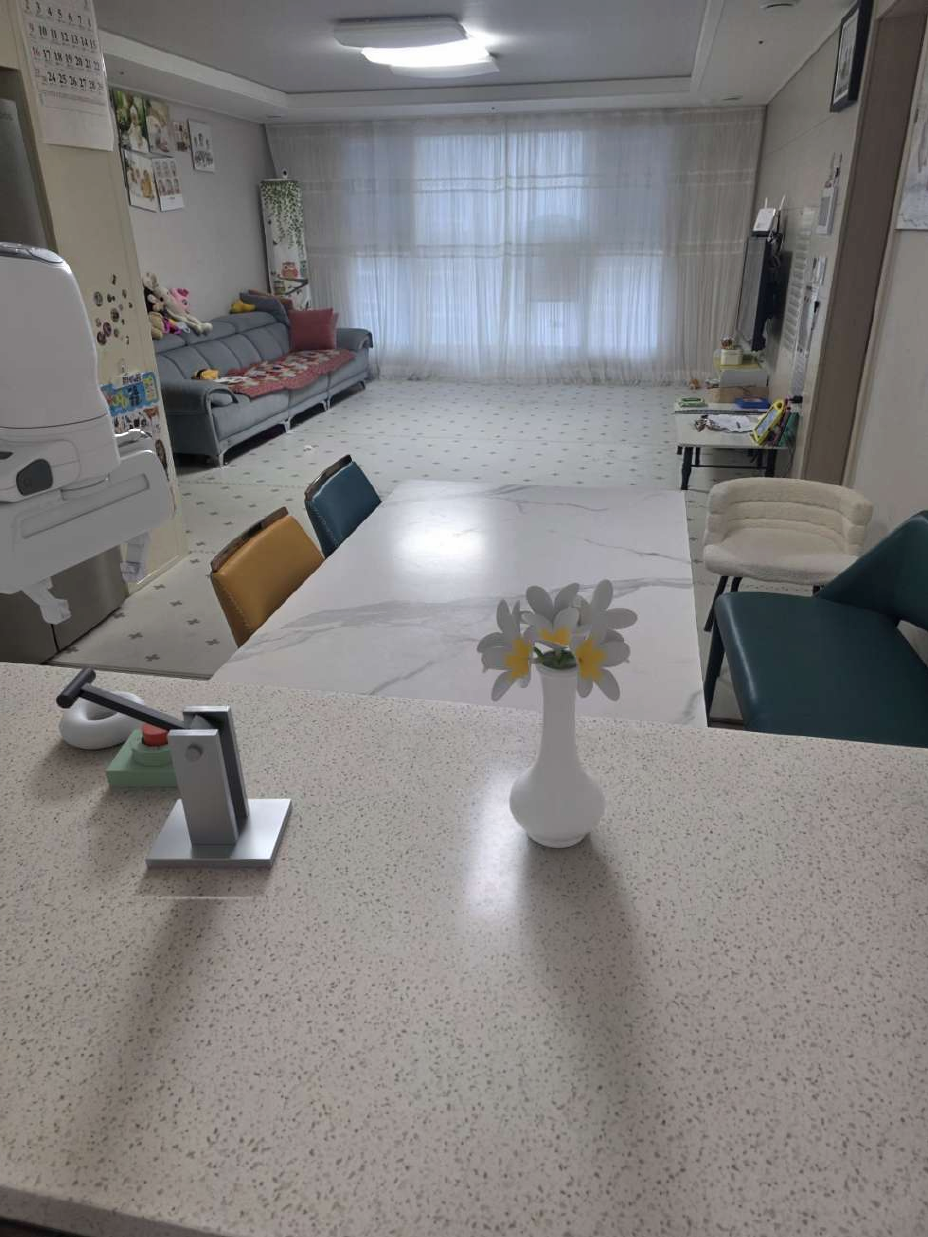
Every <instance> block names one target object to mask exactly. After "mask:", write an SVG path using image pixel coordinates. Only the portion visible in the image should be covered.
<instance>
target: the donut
mask: <svg viewBox="0 0 928 1237" xmlns="http://www.w3.org/2000/svg"><path fill="white" fill-rule="evenodd" d="M109 692H111V693H113V694H116V695H119V696H121V697H124V698H126V699H129V700H131V701H134V702H137V703H139V704H142V705H144V706H147V705H146V703H145V701H144V700H143V699H142V698H141V697H140V696H138V695H137V694H135V693H132V692H129V691H128V692H127V691H124V690H123V691H122V690H111V691H109ZM144 724H145V722H142V721H140V720H137V719H134V718H132V717H129V716H127V715H124V714H121V713H119V712H116V711H114V710H111V709H108V708H106V707H103V706H101V705H98V704H95V703H93V702H90V701H88V700H85V699H83V698H81V699H80V700H79V699H78V700H77V701H76V702H75V703H74V704H73V705H72V706H71V707H70V708H68V709H65V712H63V714H62V715H61V717H60V721H59V723H58V730H59V733H60V736H61V738H62V740H64V741H65V742H66V743H67V744H69V745H70V746H72V747H75V748H78V749H82V750H99V749H108V748H110V747H114V746H117V745H121V744H122V743H125V742H126V741H127V739H128V738H129V737H130V735H131V734H132V732H133V731H134V730H139V729H141V728H142V726H143V725H144Z"/></svg>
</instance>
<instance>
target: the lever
mask: <svg viewBox="0 0 928 1237" xmlns="http://www.w3.org/2000/svg"><path fill="white" fill-rule="evenodd" d="M96 678H97V673H96V670H94V669H92V668H91V667H84V668H82V669H81V670H80V671H79V672H78V673H77V674H76V676H75V677H74V678H73V679H72V680H71V681H70V682H69V683H68V684H67V685H66V686H65V687H64V689H63V690H62V691H61V692H60V693H59V694H58V695H57V696H56V698H55V703H56V705H57V706H59V707H60V708H61V709H63V710H67V709H68V708H70V707H71V706H72V705H73V704H75V703H76V702H78V700H79V698H80V699H85V700H88V701H90V702H93V703H95V704H98V705H101V706H103V707H106V708H108V709H111V710H114V711H116V712H119V713H121V714H124V715H127V716H129V717H132V718H134V719H137V720H140V721H142V722H145V723H147V724H150V725H153V726H155V727H158V728H160V729H163V730H166V731H168V732H170V730H218V733H219V738H220V736H221V733H222V731H223V728H224V726H223V725H220V724H218V723H215V722H212V721H210V720H207V719H205V718H202V717H200V716H197V715H196V716H195V717H194V719H193V721H192V722H191V723H188V722H185V721H184V719H181V718H178V717H176V716H173V715H170V714H168V713H165V712H162V711H160V710H157V709H155V708H152V707H150V706H147V705H146V706H144V705H142V704H139V703H137V702H134V701H131V700H129V699H126V698H124V697H121V696H119V695H116V694H113V693H111V692H110V691H108V690H106V689H103V688H100V687H99V686H95V685H93V682H94V681H95V680H96Z"/></svg>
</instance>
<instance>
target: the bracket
mask: <svg viewBox="0 0 928 1237" xmlns="http://www.w3.org/2000/svg"><path fill="white" fill-rule="evenodd" d="M181 713H182V719H183V721H185V722H188V723H191V722H192V721H193V719H194V717H195V716H196V715H197V716H200V717H202V718H205V719H207V720H210V721H212V722H215V723H218V724H220V725H223V726H224V728H223V731H222V733H221V736H220V738H219V733H218V730H170V732H169V733H168V735H167V739H168V744H169V748H170V752H171V757H172V761H173V766H174V770H175V774H176V779H177V783H178V787H177V788H178V791H179V796H180V798H177V800H176V802H175V803H174V805H173V807H172V808H171V811H170V812H169V814H168V816H167V818H166V820H165V822H164V824H163V825H162V826H161V829H160V831H159V832H158V834H157V837H156V838H155V839H154V842H153V844H152V846H151V847H150V849H149V851H148V853H147V855H146V856H145V859H144V861H145V866H146V869H149V870H150V869H152V870H153V869H155V870H156V869H157V870H158V869H159V870H160V869H163V870H165V869H169V870H172V869H173V870H175V869H176V870H177V869H179V870H181V869H182V870H183V869H184V870H185V869H186V870H187V869H191V870H192V869H194V870H195V869H198V870H200V869H203V870H204V869H205V870H207V869H209V870H210V869H211V870H215V869H216V870H218V869H220V870H222V869H227V870H228V869H229V870H234V869H235V870H237V869H239V870H240V869H241V870H243V869H244V870H246V869H248V870H249V869H250V870H251V869H252V870H255V869H256V870H259V869H262V870H265V869H267V870H270V869H272V868H273V866H274V863H275V861H276V857H277V854H278V851H279V848H280V846H281V843H282V839H283V838H284V834H285V831H286V828H287V825H288V822H289V819H290V816H291V813H292V810H293V808H294V807H293V801H292V798H248V794H247V789H246V782H245V778H244V772H243V767H242V763H241V761H242V760H241V757H240V756H241V755H240V750H239V745H238V739H237V734H236V729H235V723H234V717H233V712H232V706H231V705H198V706H197V705H195V706H194V705H192V706H191V705H187V706H184V708H183V709H182V711H181Z"/></svg>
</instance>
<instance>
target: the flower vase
mask: <svg viewBox="0 0 928 1237" xmlns="http://www.w3.org/2000/svg"><path fill="white" fill-rule="evenodd" d="M580 587H581V585H580V583H579V582H572V583H570V584H567V585H566V586H564V587H563V588H561V590H559V592H558V593H557V594H556V596H555V597H554V599H553V600H554V601H553V600H552V598H551V596H550V594H549V593H548V591H547V590H545V589H544V588H543V587H541V586H538V585H530V586H529V587H527V589H526V591H525V599H526V602H527V604H528V605H529V607H530V608H531V610H532V611H530V610H521V600H520V599H517V600H516V601H515V603H514V605H513V607H512V611H511V610H510V608H509V605H508V603H507V601H506V600H505V599H504V598H502V599H500V601H499V602H498V604H497V608H496V615H495V618H496V624H497V627H498V629H499V630H500V631H501V632H500V631H492V632H490V633H488V634H486V635H485V636H483V637H482V639H480V640H479V642H478V644H477V646H476V652H477V653H478V654H481V659H480V661H481V664H482V665H483V668H482V671H481V673H482V674H486V672H488V671H489V670H493V671H494V670H495V671H504V672H501V673H500V674H499V675H498V676H497V678H496V679H495V681H494V683H493V686H492V689H491V696H490V697H491V698H490V699H491V701H492V702H494V703H495V702H498V701H500V699H502V698H503V696H505V695H506V693H507V691H508V690H510V688H511V687H512V686H513V685H514V684H515V683H516V684H517V686H518V687H520V688H521V689H525V688H527V687H528V686H529V685H530V683H531V680H532V665H534V666H535V669H536V671H537V673H538V674H539V679H540V686H541V692H542V693H541V694H542V719H541V721H542V723H541V734H540V735H541V736H540V746H539V750H538V753H537V756H536V758H535V760H534V762H533V764H531V765H530V766H529V767H527V768H526V769H524V770H523V771H522V772H521V773H520V774H519V775H518V777H517V778H516V779H515V781H513V784H512V787H511V789H510V794H509V796H508V803H509V804H508V805H509V810H510V813H511V815H512V816H513V819H514V820H515V822H516V823H517V824H518V825H519V827H521V828H522V829H523V830H524V831H525V832H526V834H527V835H528V837H529V838H531V840H533V842H535V843H537V844H539V845H541V846H544V847H546V848H552V849H565V848H569V847H573V846H575V845H578V844H579V843H580V842H581V841H583V840H584V838H585V837H586V835H588V834H589V833H590V832H591V831H593V830H594V829H595V828H596V827H597V826H598V825H599V824H600V822H601V820H602V819H603V817H604V815H605V809H606V798H605V794H604V791H603V788H602V785H601V784H600V783H599V781H598V780H597V779H596V777H595V776H594V775H593V773H592V772H590V771H589V770H588V769H587V768H585V767H584V766H583V765H582V763H581V760H580V758H579V755H578V750H577V741H576V739H577V738H576V701H577V700H576V699H577V694H578V696H579V697H580V698H581V699H586V698H588V697H589V695H590V694H591V693H592V690H593V687H594V684H595V685H596V686H597V687H598V688H599V690H600V691H601V692H602V693H603V695H604V696H605V697H606V698H608V700H610V701H613V702H617V701H618V700H620V697H621V691H620V690H621V689H620V686H619V683H618V681H617V679H616V677H615V676H614V674H613V673H612V672H611V671H610V670H608V669H606V668H613V667H618V666H619V665H621V664H623V663H626V664H631V663H630V660H629V657H630V655H631V648H630V646H629V644H627V643H626V642H625V637H623V635H622V634H621V633H620V632H619V631H617V630H622V629H627V628H630V627H631V626H633V625H635V624H636V623H637V621H638V620H639V619H638V614H637V612H635V611H634V610H632V609H629V608H625V607H612V608H609V607H610V606H611V604H612V600H613V597H614V588H613V583H612V581H610V579H606V578H605V579H602V580H600V581H599V582H598V583H597V585H596V586H595V587H594V589H593V592H592V594H591V597H590V599H589V602H588V600H587V599H586V598H585V597H583V595H581V594H578V592H579V590H580ZM521 625H528V627H527V628H525V630H524V631H523V632H521ZM536 643H537V644H540V645H543V646H546V647H548V648H550V649H549V650H545V651H543V652H542V650H541V649H540V648H538V647H537V646H536ZM534 653H535V654H536V655H537V657H534Z"/></svg>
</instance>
